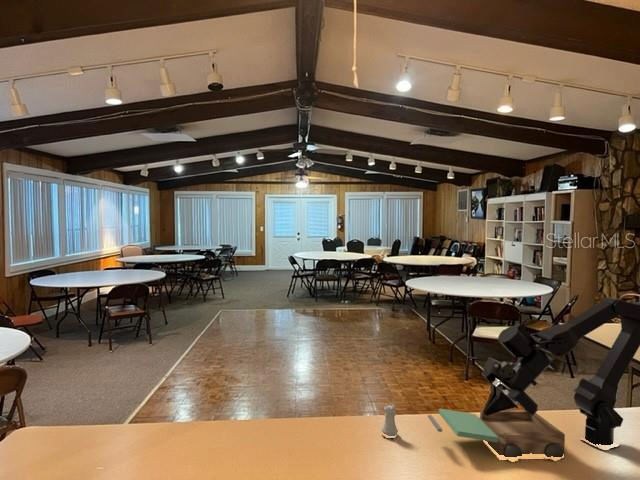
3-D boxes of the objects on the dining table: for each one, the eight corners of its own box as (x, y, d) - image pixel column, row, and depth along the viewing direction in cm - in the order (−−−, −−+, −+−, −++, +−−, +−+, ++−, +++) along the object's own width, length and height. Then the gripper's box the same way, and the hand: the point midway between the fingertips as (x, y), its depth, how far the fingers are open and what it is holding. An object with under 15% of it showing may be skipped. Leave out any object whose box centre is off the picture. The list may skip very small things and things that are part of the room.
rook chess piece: (385, 440, 109) (385, 409, 109) (378, 432, 113) (378, 403, 113) (401, 438, 110) (401, 408, 110) (393, 430, 114) (394, 401, 114)
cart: (529, 430, 116) (529, 408, 116) (567, 461, 100) (567, 436, 100) (472, 430, 115) (472, 408, 115) (501, 462, 99) (501, 437, 99)
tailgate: (475, 414, 113) (426, 406, 112) (498, 437, 100) (443, 428, 99) (474, 420, 113) (424, 412, 112) (497, 444, 100) (441, 436, 99)
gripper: (488, 338, 116) (449, 379, 115) (525, 358, 97) (478, 407, 97) (516, 366, 116) (477, 407, 116) (558, 391, 98) (511, 440, 97)
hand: (484, 413), depth 107 cm, fingers closed
